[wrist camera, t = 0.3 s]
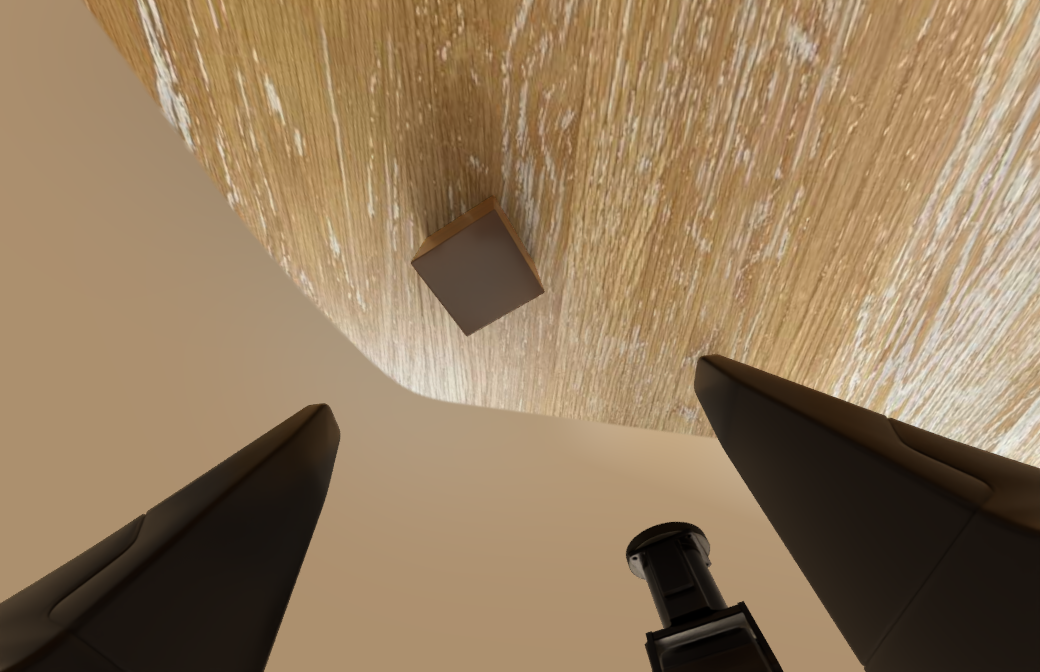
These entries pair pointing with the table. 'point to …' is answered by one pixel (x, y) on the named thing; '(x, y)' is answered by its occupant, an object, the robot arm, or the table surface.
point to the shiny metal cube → (478, 267)
